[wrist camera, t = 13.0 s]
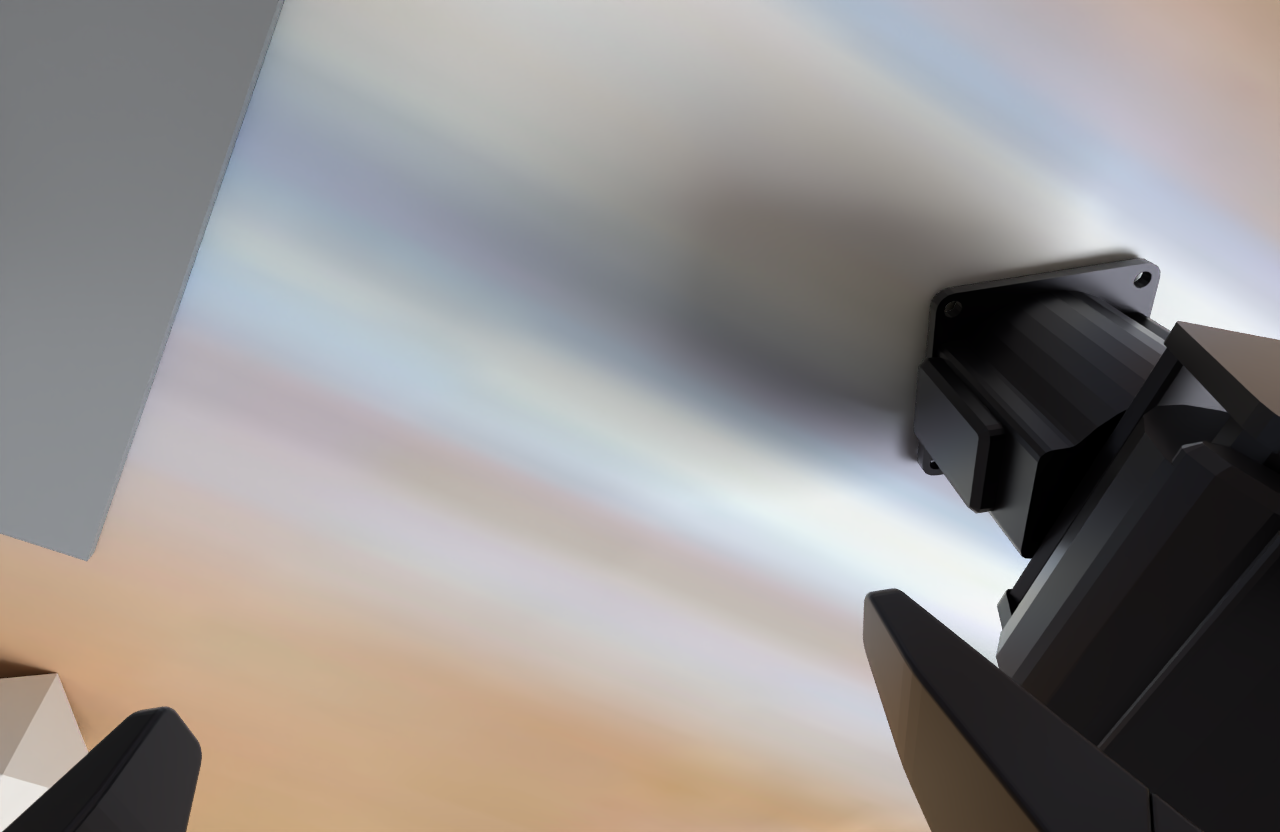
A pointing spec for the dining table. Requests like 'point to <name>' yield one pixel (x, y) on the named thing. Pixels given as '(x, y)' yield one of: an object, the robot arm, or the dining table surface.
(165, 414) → the dining table surface
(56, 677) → the die
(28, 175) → the mat
